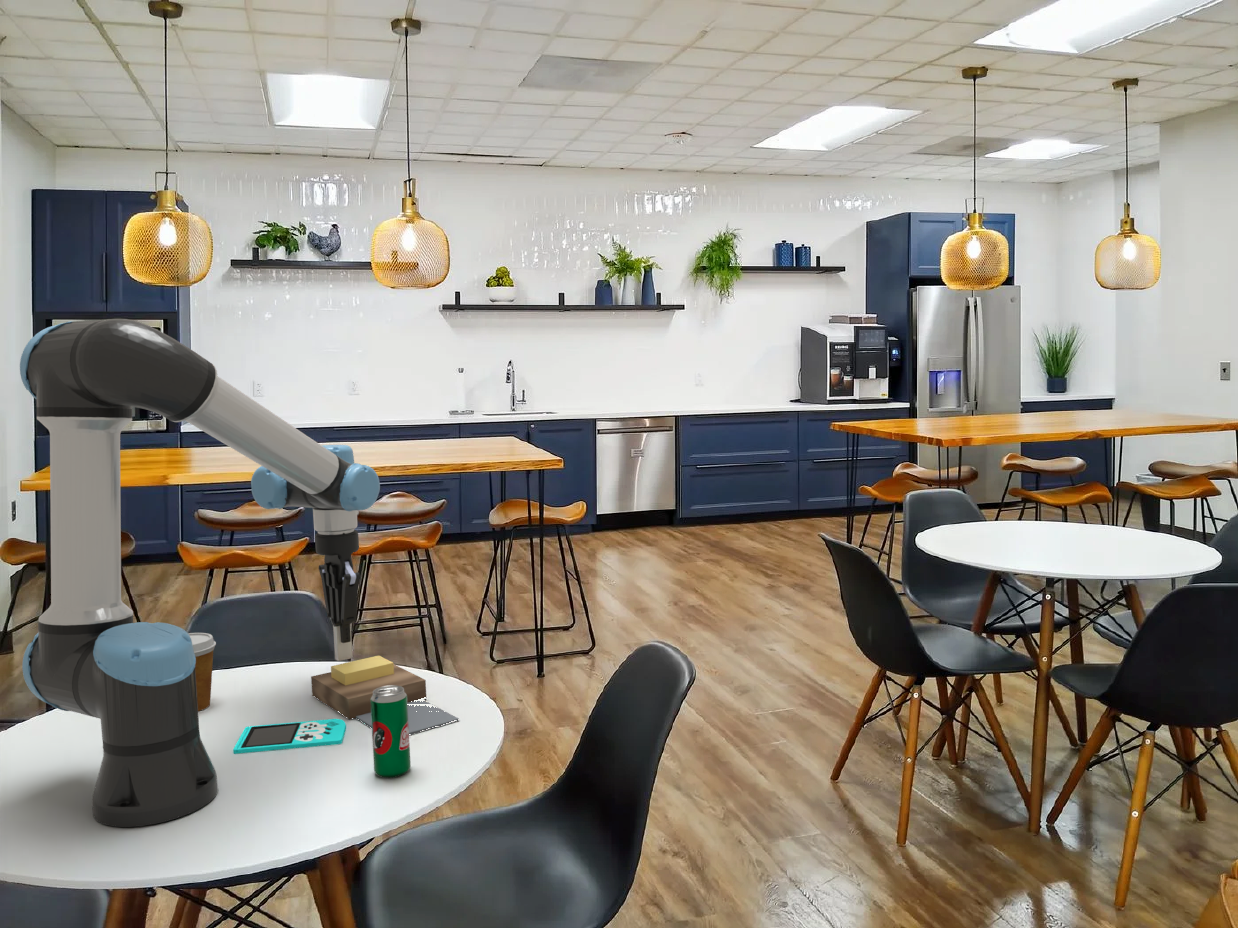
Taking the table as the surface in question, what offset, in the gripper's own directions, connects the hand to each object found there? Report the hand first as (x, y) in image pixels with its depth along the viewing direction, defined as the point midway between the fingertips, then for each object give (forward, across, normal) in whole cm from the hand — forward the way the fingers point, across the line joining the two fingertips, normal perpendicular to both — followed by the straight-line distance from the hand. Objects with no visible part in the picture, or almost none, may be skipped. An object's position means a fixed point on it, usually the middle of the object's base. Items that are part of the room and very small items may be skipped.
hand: (343, 658), depth 176 cm
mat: (+5, -24, 0) cm, 25 cm away
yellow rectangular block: (+1, -8, 0) cm, 8 cm away
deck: (+5, -10, 0) cm, 11 cm away
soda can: (+5, -42, +11) cm, 44 cm away
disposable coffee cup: (+5, +7, +25) cm, 26 cm away
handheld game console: (+6, -19, +17) cm, 26 cm away
